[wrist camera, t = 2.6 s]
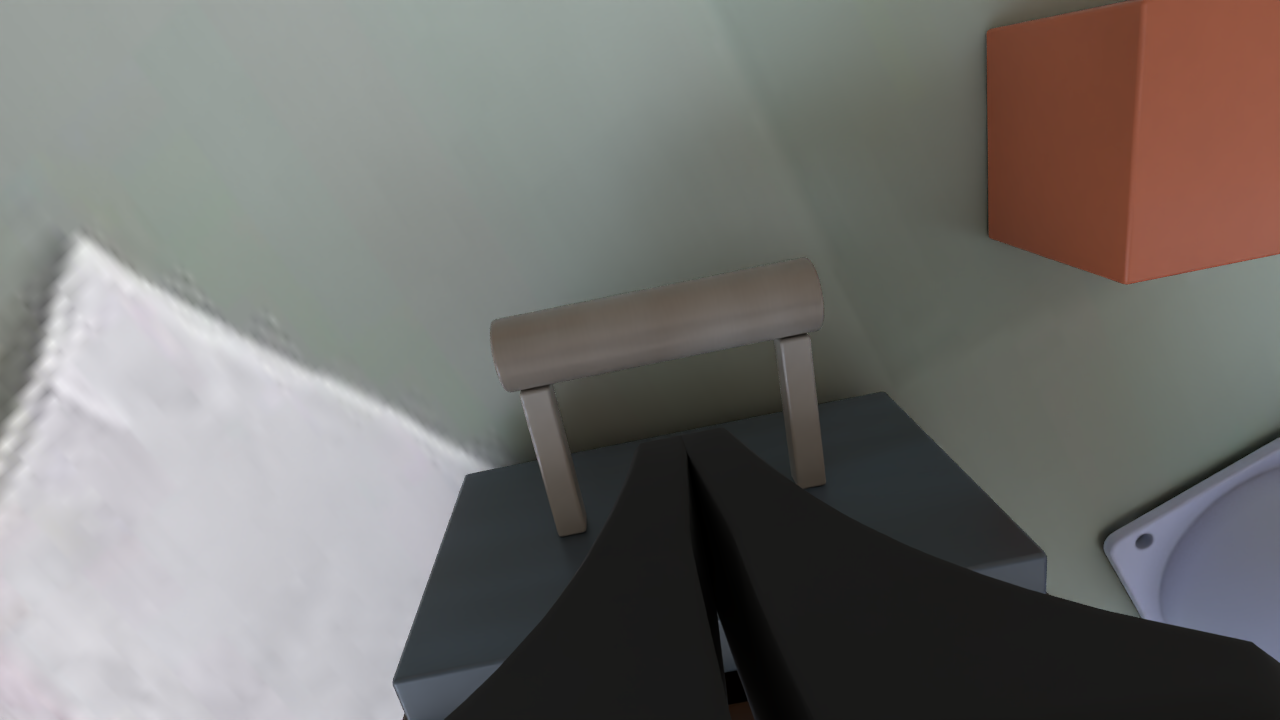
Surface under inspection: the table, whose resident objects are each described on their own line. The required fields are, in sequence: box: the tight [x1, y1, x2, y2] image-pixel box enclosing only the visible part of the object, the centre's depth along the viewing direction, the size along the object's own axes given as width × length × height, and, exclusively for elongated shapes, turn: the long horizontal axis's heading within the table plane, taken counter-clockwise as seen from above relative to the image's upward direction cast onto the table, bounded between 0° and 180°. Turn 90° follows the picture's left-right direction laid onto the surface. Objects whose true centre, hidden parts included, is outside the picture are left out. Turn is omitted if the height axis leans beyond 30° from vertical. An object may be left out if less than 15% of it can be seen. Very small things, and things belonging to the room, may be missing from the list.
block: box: [987, 0, 1280, 285], centre depth 14 cm, size 5×5×5 cm
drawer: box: [393, 257, 1047, 720], centre depth 16 cm, size 17×11×7 cm, turn 11°
